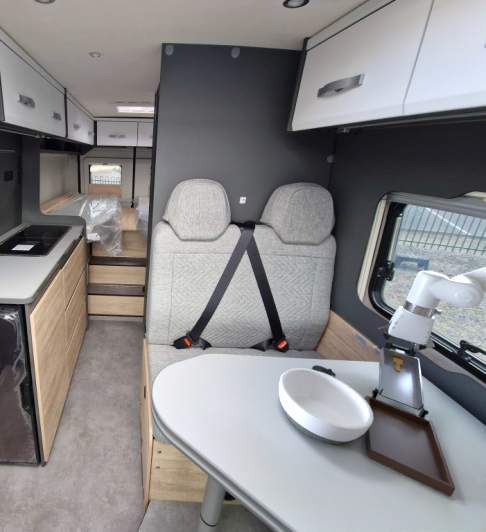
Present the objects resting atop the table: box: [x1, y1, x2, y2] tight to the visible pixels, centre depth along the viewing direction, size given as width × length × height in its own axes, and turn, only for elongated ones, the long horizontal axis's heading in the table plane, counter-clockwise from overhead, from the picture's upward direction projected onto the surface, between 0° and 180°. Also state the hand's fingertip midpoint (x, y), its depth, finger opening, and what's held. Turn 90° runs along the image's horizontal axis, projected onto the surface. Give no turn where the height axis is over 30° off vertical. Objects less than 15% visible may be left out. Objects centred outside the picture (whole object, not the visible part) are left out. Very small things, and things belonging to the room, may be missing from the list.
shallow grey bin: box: [378, 343, 425, 412], centre depth 98 cm, size 23×10×3 cm, turn 146°
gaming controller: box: [311, 364, 337, 378], centre depth 103 cm, size 10×5×6 cm
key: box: [393, 357, 403, 372], centre depth 102 cm, size 6×2×1 cm, turn 146°
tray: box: [364, 394, 456, 497], centre depth 82 cm, size 24×16×3 cm, turn 146°
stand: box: [370, 387, 430, 418], centre depth 92 cm, size 2×13×5 cm, turn 56°
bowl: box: [278, 367, 374, 445], centre depth 86 cm, size 22×22×8 cm
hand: (397, 354), depth 106 cm, fingers closed on shallow grey bin, 5 cm apart
